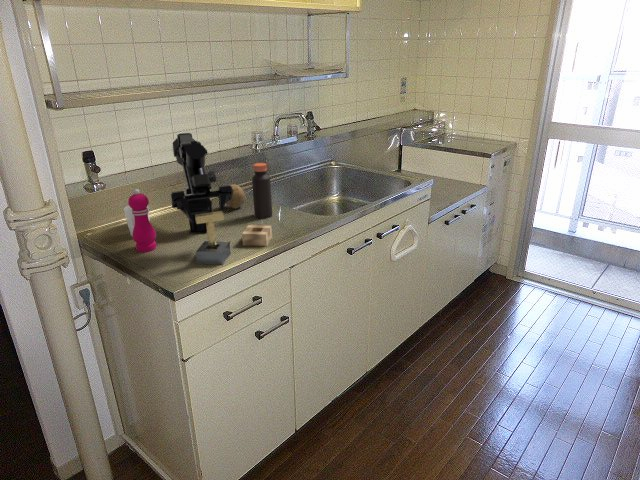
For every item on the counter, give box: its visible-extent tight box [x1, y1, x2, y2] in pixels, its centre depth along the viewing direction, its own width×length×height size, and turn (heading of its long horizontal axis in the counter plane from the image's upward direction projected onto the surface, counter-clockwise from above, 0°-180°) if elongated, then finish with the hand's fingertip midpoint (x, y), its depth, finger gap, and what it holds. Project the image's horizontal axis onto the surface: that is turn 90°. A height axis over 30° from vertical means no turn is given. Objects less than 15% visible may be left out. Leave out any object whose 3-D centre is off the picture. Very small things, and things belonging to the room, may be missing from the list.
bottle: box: [251, 162, 273, 219], centre depth 177 cm, size 7×7×20 cm
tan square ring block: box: [241, 224, 273, 247], centre depth 157 cm, size 8×8×4 cm
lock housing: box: [195, 240, 232, 265], centre depth 144 cm, size 8×8×4 cm
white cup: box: [123, 205, 151, 238], centre depth 164 cm, size 8×8×10 cm
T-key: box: [195, 210, 225, 249], centre depth 142 cm, size 8×2×15 cm, turn 113°
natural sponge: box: [225, 183, 247, 209], centre depth 188 cm, size 9×9×10 cm
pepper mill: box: [127, 188, 157, 253], centre depth 150 cm, size 7×7×20 cm
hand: (207, 220), depth 144 cm, fingers open, 9 cm apart
